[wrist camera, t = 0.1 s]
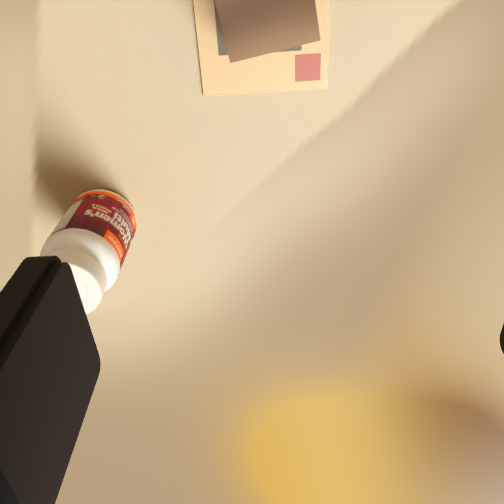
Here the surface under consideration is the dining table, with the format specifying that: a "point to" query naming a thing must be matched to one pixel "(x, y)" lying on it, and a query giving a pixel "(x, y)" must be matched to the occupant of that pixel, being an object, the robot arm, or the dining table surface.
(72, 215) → the pill bottle
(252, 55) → the walnut block
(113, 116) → the dining table surface
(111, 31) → the dining table surface
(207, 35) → the letter
